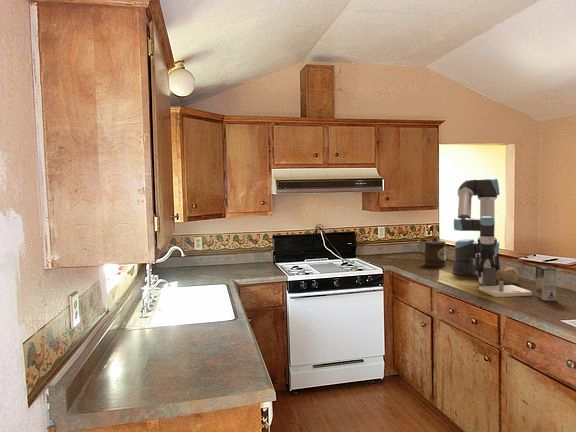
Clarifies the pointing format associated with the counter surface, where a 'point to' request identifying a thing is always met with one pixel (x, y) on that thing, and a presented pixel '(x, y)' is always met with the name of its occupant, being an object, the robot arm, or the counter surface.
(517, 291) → the panel
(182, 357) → the counter surface
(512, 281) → the low-poly potato
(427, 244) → the wooden container
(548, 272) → the coffee box
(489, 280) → the grey block with stripe
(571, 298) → the counter surface
